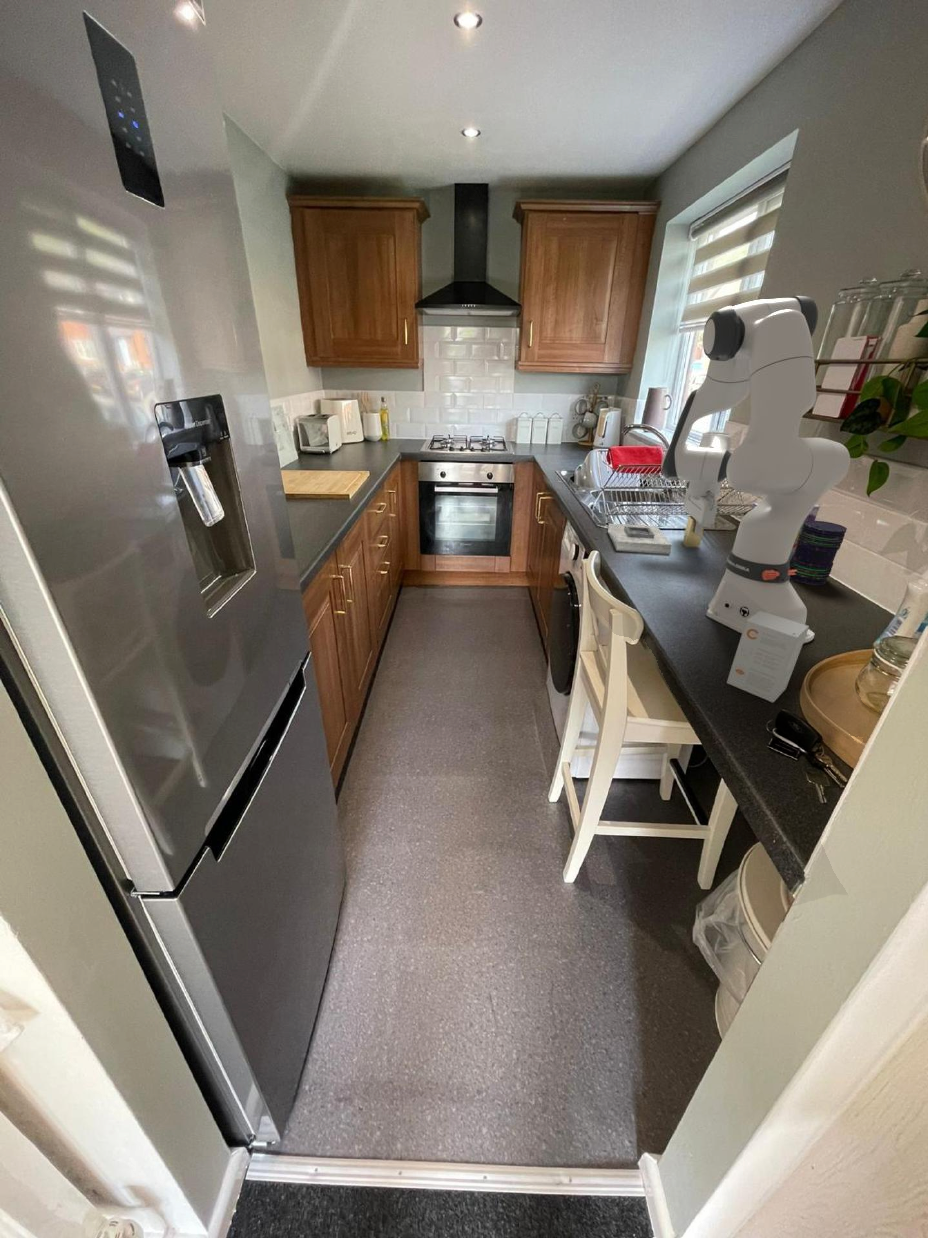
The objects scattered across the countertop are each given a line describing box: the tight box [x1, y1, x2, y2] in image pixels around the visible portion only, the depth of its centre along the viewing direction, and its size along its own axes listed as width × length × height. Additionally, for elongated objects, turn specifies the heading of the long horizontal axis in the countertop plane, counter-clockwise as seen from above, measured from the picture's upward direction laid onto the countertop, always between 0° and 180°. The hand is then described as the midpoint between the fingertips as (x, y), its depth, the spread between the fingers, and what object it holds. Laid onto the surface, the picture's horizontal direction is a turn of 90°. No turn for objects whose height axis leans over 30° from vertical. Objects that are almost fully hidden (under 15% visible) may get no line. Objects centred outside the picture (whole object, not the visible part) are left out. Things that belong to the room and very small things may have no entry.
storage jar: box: [789, 520, 848, 586], centre depth 134 cm, size 10×10×15 cm
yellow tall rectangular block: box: [682, 516, 705, 549], centre depth 158 cm, size 4×4×9 cm
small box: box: [726, 611, 810, 703], centre depth 86 cm, size 8×6×13 cm
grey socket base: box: [607, 523, 673, 555], centre depth 161 cm, size 20×16×4 cm
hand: (693, 531), depth 158 cm, fingers closed on yellow tall rectangular block, 4 cm apart
